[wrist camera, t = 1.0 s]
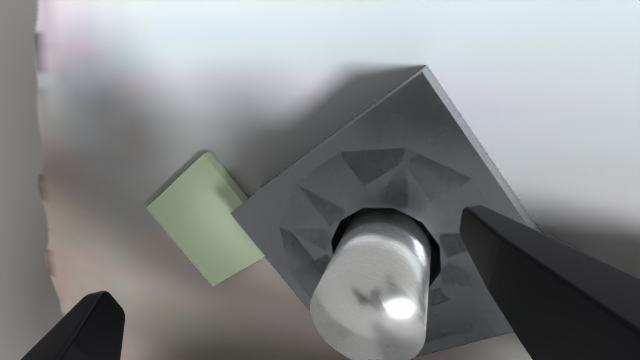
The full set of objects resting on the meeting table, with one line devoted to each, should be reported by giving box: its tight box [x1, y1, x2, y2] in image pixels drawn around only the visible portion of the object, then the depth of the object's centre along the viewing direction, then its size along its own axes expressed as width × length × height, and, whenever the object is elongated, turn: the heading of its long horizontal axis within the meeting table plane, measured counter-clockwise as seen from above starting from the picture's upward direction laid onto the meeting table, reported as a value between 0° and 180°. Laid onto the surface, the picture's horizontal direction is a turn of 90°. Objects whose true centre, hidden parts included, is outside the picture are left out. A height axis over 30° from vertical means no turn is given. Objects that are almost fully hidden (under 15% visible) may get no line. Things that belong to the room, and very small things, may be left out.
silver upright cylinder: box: [310, 208, 432, 360], centre depth 18 cm, size 5×5×9 cm
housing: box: [230, 65, 540, 360], centre depth 20 cm, size 14×14×4 cm
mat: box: [146, 151, 265, 287], centre depth 27 cm, size 9×9×1 cm
